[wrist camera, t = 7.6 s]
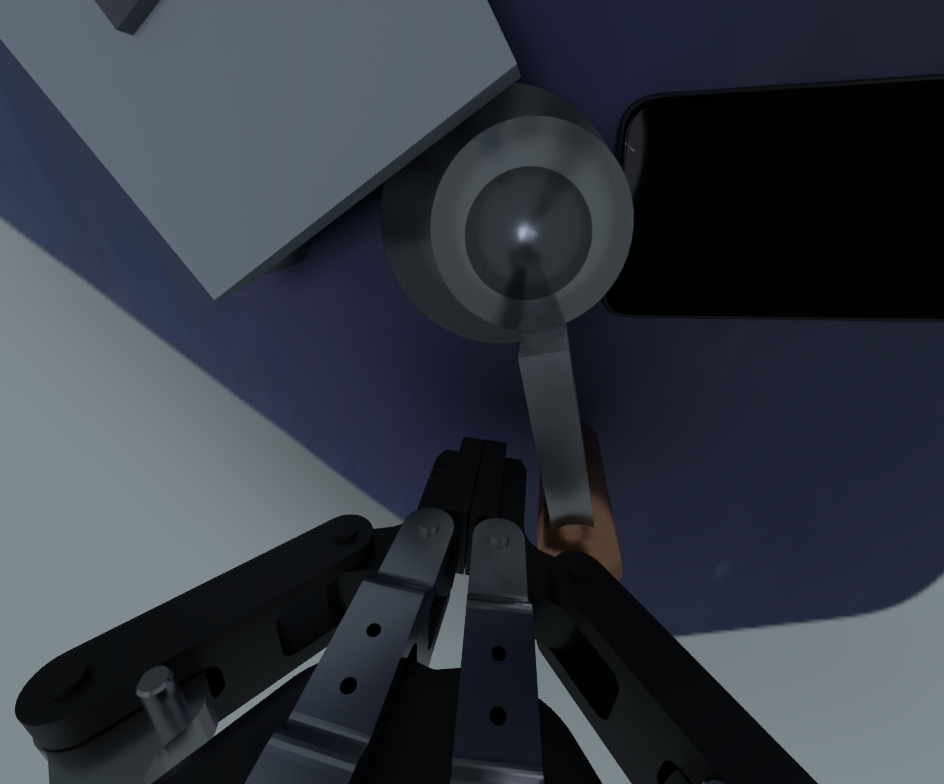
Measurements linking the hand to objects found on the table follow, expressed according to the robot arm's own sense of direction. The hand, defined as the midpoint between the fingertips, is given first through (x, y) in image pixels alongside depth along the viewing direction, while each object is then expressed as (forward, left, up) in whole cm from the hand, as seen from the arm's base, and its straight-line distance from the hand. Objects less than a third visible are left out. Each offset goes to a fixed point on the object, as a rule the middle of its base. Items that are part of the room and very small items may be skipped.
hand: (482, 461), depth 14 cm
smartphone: (-14, 0, -6) cm, 15 cm away
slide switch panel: (0, -16, -6) cm, 17 cm away
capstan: (-3, -3, -5) cm, 7 cm away
